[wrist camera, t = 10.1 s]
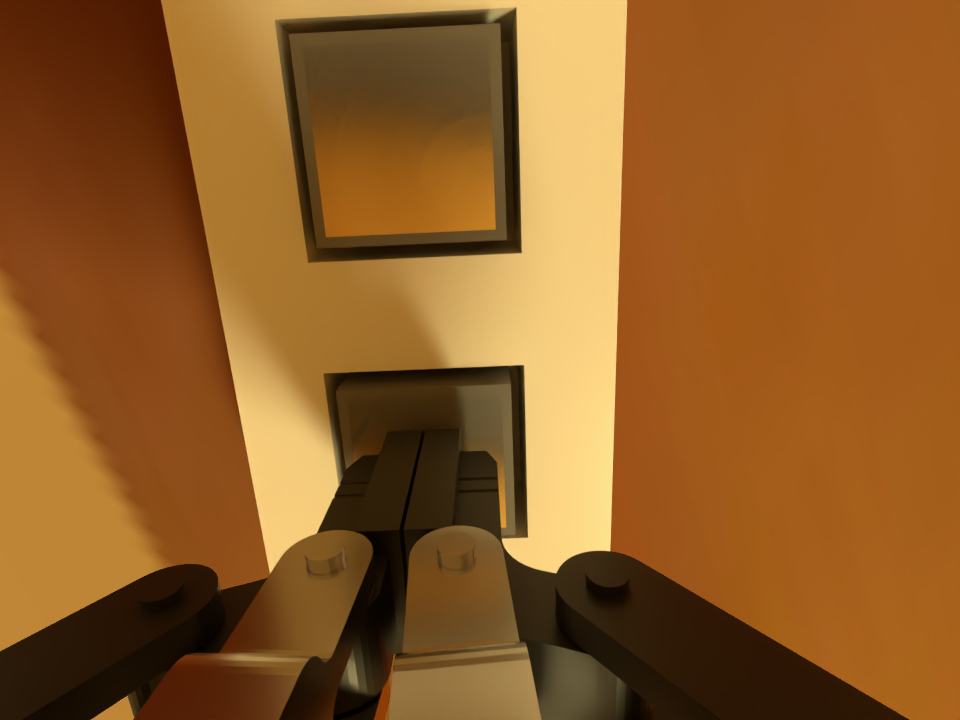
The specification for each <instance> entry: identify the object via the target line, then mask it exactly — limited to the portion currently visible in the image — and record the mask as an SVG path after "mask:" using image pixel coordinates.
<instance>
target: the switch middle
mask: <svg viewBox="0 0 960 720" xmlns="http://www.w3.org/2000/svg"><path fill="white" fill-rule="evenodd" d="M289 41H290V49H291V56H292V64H293V72H294V79H295V87H296V94H297V102H298V109H299V117H300V125H301V132H302V140H303V147H304V155H305V163H306V170H307V178H308V185H309V193H310V200H311V208H312V216H313V223H314V231H315V238H316V246H317V248H338V247H360V246H382V245H404V244H426V243H448V242H470V241H492V240H507V231H506V198H505V164H504V130H503V97H502V63H501V29H500V23H495V24H476V25H456V26H436V27H417V28H397V29H377V30H358V31H338V32H318V33H299V34H289Z"/></svg>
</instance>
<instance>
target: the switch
mask: <svg viewBox="0 0 960 720" xmlns="http://www.w3.org/2000/svg"><path fill="white" fill-rule="evenodd" d="M336 397H337V405H338V412H339V420H340V428H341V435H342V443H343V450H344V458H345V465H346V469H347V468H348V467H349V466H350V465H352V464H353V463H354V462H355V461H357V460H358V459H359V458H360V457H362V456H363V455H379V454H380V452H381V449H382V446H383V443H384V441H385V438H386V435H387V433H388V431H411V430H424V433H425V431H426V430H433V429H459V428H460V429H461V436H462V451H487V452H488V453H489V454H490V455H491V456H492V457H493V458H494V460H495V461H496V462H497V468H498V485H499V502H500V519H501V535H515V501H514V468H513V434H512V400H511V381H510V374H509V368H508V366H488V367H464V368H441V369H417V370H394V371H370V372H349V373H348V374H347V376H346V377H345V379H344V380H343V382H342V383H341V384H340V386H339V387H338V389H337V390H336Z"/></svg>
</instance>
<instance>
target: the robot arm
mask: <svg viewBox="0 0 960 720" xmlns="http://www.w3.org/2000/svg"><path fill="white" fill-rule="evenodd" d="M394 654H396V656H395V660H394V667H393V677H392V688H391V699H390V687H389V675H390V672H391V666H392V661H393V655H394ZM127 695H128V698H129V702H130V705H131V708H132V711H133V715H134V720H384V719H385V715H386V712H387V708H388V704H389V699H390V710H389V720H909V719H907V718H905V717H904V716H902V715H900V714H899V713H897V712H895V711H893V710H892V709H890V708H888V707H887V706H885V705H883V704H882V703H880V702H878V701H876V700H875V699H873V698H871V697H870V696H868V695H866V694H865V693H863V692H861V691H859V690H858V689H856V688H854V687H853V686H851V685H849V684H848V683H846V682H844V681H842V680H841V679H839V678H837V677H836V676H834V675H832V674H831V673H829V672H827V671H825V670H824V669H822V668H820V667H819V666H817V665H815V664H814V663H812V662H810V661H808V660H807V659H805V658H803V657H802V656H800V655H798V654H797V653H795V652H793V651H791V650H790V649H788V648H786V647H785V646H783V645H781V644H780V643H778V642H776V641H774V640H773V639H771V638H769V637H768V636H766V635H764V634H763V633H761V632H759V631H757V630H756V629H754V628H752V627H751V626H749V625H747V624H746V623H744V622H742V621H740V620H739V619H737V618H735V617H734V616H732V615H730V614H729V613H727V612H725V611H723V610H722V609H720V608H718V607H717V606H715V605H713V604H712V603H710V602H708V601H706V600H705V599H703V598H701V597H700V596H698V595H696V594H695V593H693V592H691V591H689V590H688V589H686V588H684V587H683V586H681V585H679V584H677V583H676V582H674V581H672V580H671V579H669V578H667V577H666V576H664V575H662V574H660V573H659V572H657V571H655V570H654V569H652V568H650V567H649V566H647V565H645V564H643V563H642V562H640V561H638V560H636V559H634V558H632V557H630V556H627V555H625V554H621V553H617V552H611V551H588V552H583V553H580V554H577V555H575V556H573V557H571V558H569V559H567V560H566V561H565V562H564V563H563V564H562V565H561V566H560V567H559V569H558V571H557V573H552V572H547V571H542V570H538V569H534V568H531V567H529V566H526V565H524V564H522V563H520V562H519V561H517V560H516V559H514V558H513V557H512V556H511V555H510V554H509V553H508V552H507V551H506V549H505V547H504V545H503V543H502V536H501V519H500V502H499V485H498V468H497V462H496V461H495V460H494V458H493V457H492V456H491V455H490V454H489V453H488V452H487V451H462V436H461V429H460V428H459V429H433V430H426V431H425V433H424V430H411V431H388V433H387V435H386V438H385V441H384V443H383V446H382V449H381V452H380V454H379V455H363V456H362V457H360V458H359V459H358V460H357V461H355V462H354V463H353V464H352V465H350V466H349V467H348V468H347V469H346V471H345V473H344V476H343V478H342V480H341V482H340V486H338V489H337V491H336V493H335V495H334V498H333V499H332V501H331V504H330V506H329V508H328V510H327V512H326V514H325V517H324V519H323V521H322V523H321V525H320V527H319V529H318V532H317V534H314V535H311V536H308V537H306V538H304V539H302V540H300V541H298V542H297V543H295V544H294V545H292V546H291V547H290V548H289V549H288V550H287V551H285V553H284V554H283V555H282V556H281V558H280V559H279V561H278V562H277V564H276V566H275V567H274V569H273V570H272V572H271V573H270V575H269V576H268V578H266V579H262V580H259V581H255V582H251V583H247V584H243V585H239V586H235V587H231V588H227V589H223V590H221V589H220V585H219V580H218V577H217V574H216V573H215V572H214V571H213V570H212V569H210V568H209V567H206V566H203V565H197V564H184V565H177V566H172V567H168V568H164V569H161V570H158V571H155V572H153V573H150V574H148V575H146V576H144V577H142V578H140V579H138V580H136V581H134V582H132V583H130V584H129V585H127V586H125V587H123V588H121V589H119V590H117V591H115V592H113V593H111V594H109V595H107V596H105V597H104V598H102V599H100V600H98V601H96V602H94V603H92V604H90V605H88V606H86V607H85V608H82V609H80V610H79V611H77V612H75V613H73V614H71V615H69V616H67V617H65V618H63V619H61V620H59V621H58V622H56V623H54V624H52V625H50V626H48V627H46V628H44V629H42V630H40V631H38V632H37V633H35V634H33V635H31V636H29V637H27V638H25V639H23V640H21V641H19V642H17V643H16V644H13V645H11V646H10V647H8V648H6V649H4V650H2V651H0V720H91V719H92V718H94V717H95V716H97V715H98V714H100V713H101V712H103V711H104V710H106V709H108V708H109V707H111V706H112V705H114V704H115V703H117V702H118V701H120V700H121V699H123V698H124V697H126V696H127Z"/></svg>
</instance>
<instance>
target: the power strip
mask: <svg viewBox="0 0 960 720" xmlns="http://www.w3.org/2000/svg"><path fill="white" fill-rule="evenodd" d="M161 3H162V8H163V13H164V18H165V24H166V29H167V34H168V39H169V45H170V50H171V55H172V60H173V66H174V71H175V76H176V81H177V87H178V92H179V97H180V102H181V108H182V113H183V118H184V123H185V129H186V134H187V139H188V144H189V150H190V155H191V160H192V165H193V171H194V176H195V181H196V186H197V192H198V197H199V202H200V207H201V213H202V218H203V223H204V229H205V234H206V239H207V244H208V250H209V255H210V260H211V265H212V271H213V276H214V281H215V286H216V292H217V297H218V302H219V307H220V313H221V318H222V323H223V328H224V334H225V339H226V344H227V349H228V355H229V360H230V365H231V370H232V376H233V381H234V386H235V391H236V397H237V402H238V407H239V412H240V418H241V423H242V428H243V433H244V439H245V444H246V449H247V455H248V460H249V465H250V470H251V476H252V481H253V486H254V491H255V497H256V502H257V507H258V512H259V518H260V523H261V528H262V533H263V539H264V544H265V549H266V554H267V560H268V565H269V570H270V573H271V572H272V570H273V569H274V567H275V566H276V564H277V562H278V561H279V559H280V558H281V556H282V555H283V554H284V553H285V551H287V550H288V549H289V548H290V547H291V546H292V545H294V544H295V543H297V542H298V541H300V540H302V539H304V538H306V537H308V536H311V535H314V534H317V532H318V529H319V527H320V525H321V523H322V521H323V519H324V517H325V514H326V512H327V510H328V508H329V506H330V504H331V501H332V499H333V498H334V495H335V493H336V491H337V489H338V486H340V482H341V480H342V478H343V476H344V473H345V471H346V465H345V458H344V450H343V443H342V435H341V428H340V420H339V412H338V405H337V397H336V390H337V389H338V387H339V386H340V384H341V383H342V382H343V380H344V379H345V377H346V376H347V374H348V373H349V372H370V371H394V370H417V369H441V368H464V367H488V366H508V368H509V374H510V381H511V400H512V434H513V468H514V501H515V535H501V536H502V543H503V545H504V547H505V549H506V551H507V552H508V553H509V554H510V555H511V556H512V557H513V558H514V559H516V560H517V561H519V562H520V563H522V564H524V565H526V566H529V567H531V568H534V569H538V570H542V571H547V572H552V573H557V571H558V569H559V567H560V566H561V565H562V564H563V563H564V562H565V561H566V560H567V559H569V558H571V557H573V556H575V555H577V554H580V553H583V552H588V551H610V538H611V505H612V473H613V440H614V408H615V375H616V343H617V310H618V278H619V245H620V213H621V180H622V148H623V115H624V83H625V51H626V18H627V0H161ZM495 23H500V29H501V63H502V97H503V130H504V164H505V198H506V231H507V240H492V241H470V242H448V243H426V244H404V245H382V246H360V247H338V248H317V246H316V238H315V231H314V223H313V216H312V208H311V200H310V193H309V185H308V178H307V170H306V163H305V155H304V147H303V140H302V132H301V125H300V117H299V109H298V102H297V94H296V87H295V79H294V72H293V64H292V56H291V49H290V41H289V34H299V33H318V32H338V31H358V30H377V29H397V28H417V27H436V26H456V25H476V24H495Z"/></svg>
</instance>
